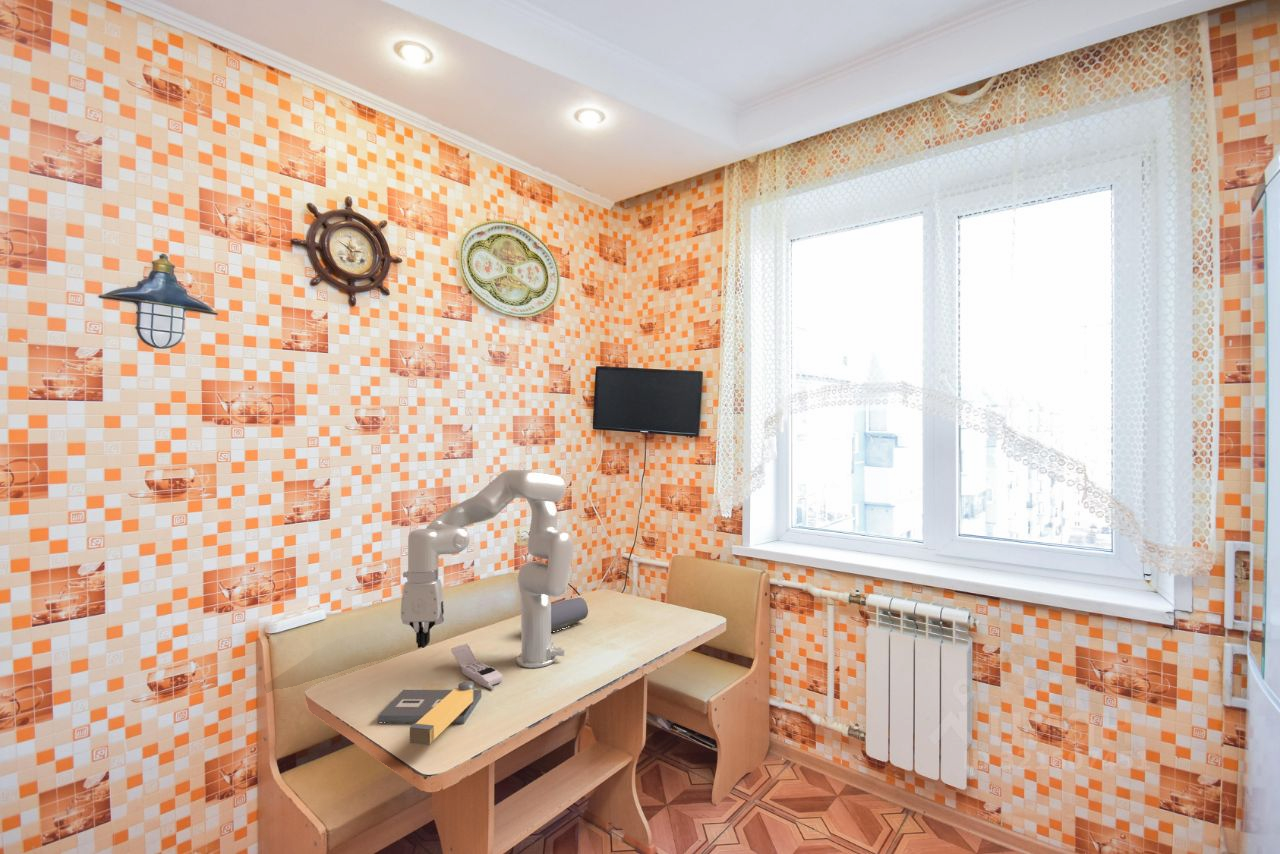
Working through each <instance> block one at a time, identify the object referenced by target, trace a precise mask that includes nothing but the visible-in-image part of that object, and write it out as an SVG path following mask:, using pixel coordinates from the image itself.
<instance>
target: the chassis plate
mask: <svg viewBox="0 0 1280 854" xmlns="http://www.w3.org/2000/svg"><path fill="white" fill-rule="evenodd" d="M453 690H454V689H402V691H400V692H399V694H398V695H397V696H395V698H393V700H392V701H391V702H390V703H389V704H388V705H386V706H385V707H384V709H383V710H382V711H380V713H379V714H378V715H377V719H378V720H377V723H378V722H382V723H381V724H402V723H417V722H418V721H419V720H420V719H421V718H422V717H423V716H424V715H426V714H427V713H428V712H429V711H430V710H431V709H432V708H433V707H435V706H436V705H437V704H438V703H439V702H440V701H441V700H443V699H444V698H445V697H446V696H447V695H448V694H449V693H450V692H452V691H453ZM481 699H482V689H474V704H473V705H471V706H468V707H467V708H466V709H465V710H464V711H463V712H462V713H461V714H460V715H459V716H457V717H456V718H455V719H454V720H453V721H452V722H451V723H450V724H449V725H464V724H465V723H466V722H467V720H468V719H469V716H470V715H471V714H472V712H473V711H474V709H475V708H476V706H477V705H478V703H479V702H480V700H481ZM384 722H385V723H384Z"/></svg>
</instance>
